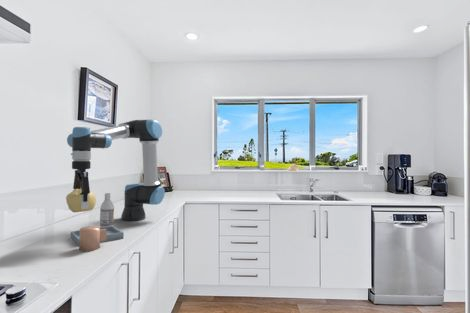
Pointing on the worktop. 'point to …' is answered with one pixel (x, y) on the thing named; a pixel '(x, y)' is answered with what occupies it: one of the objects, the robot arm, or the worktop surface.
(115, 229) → the tray
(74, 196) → the sculpture
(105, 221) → the bath foam
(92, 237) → the peach tabbed round part
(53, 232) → the worktop surface
